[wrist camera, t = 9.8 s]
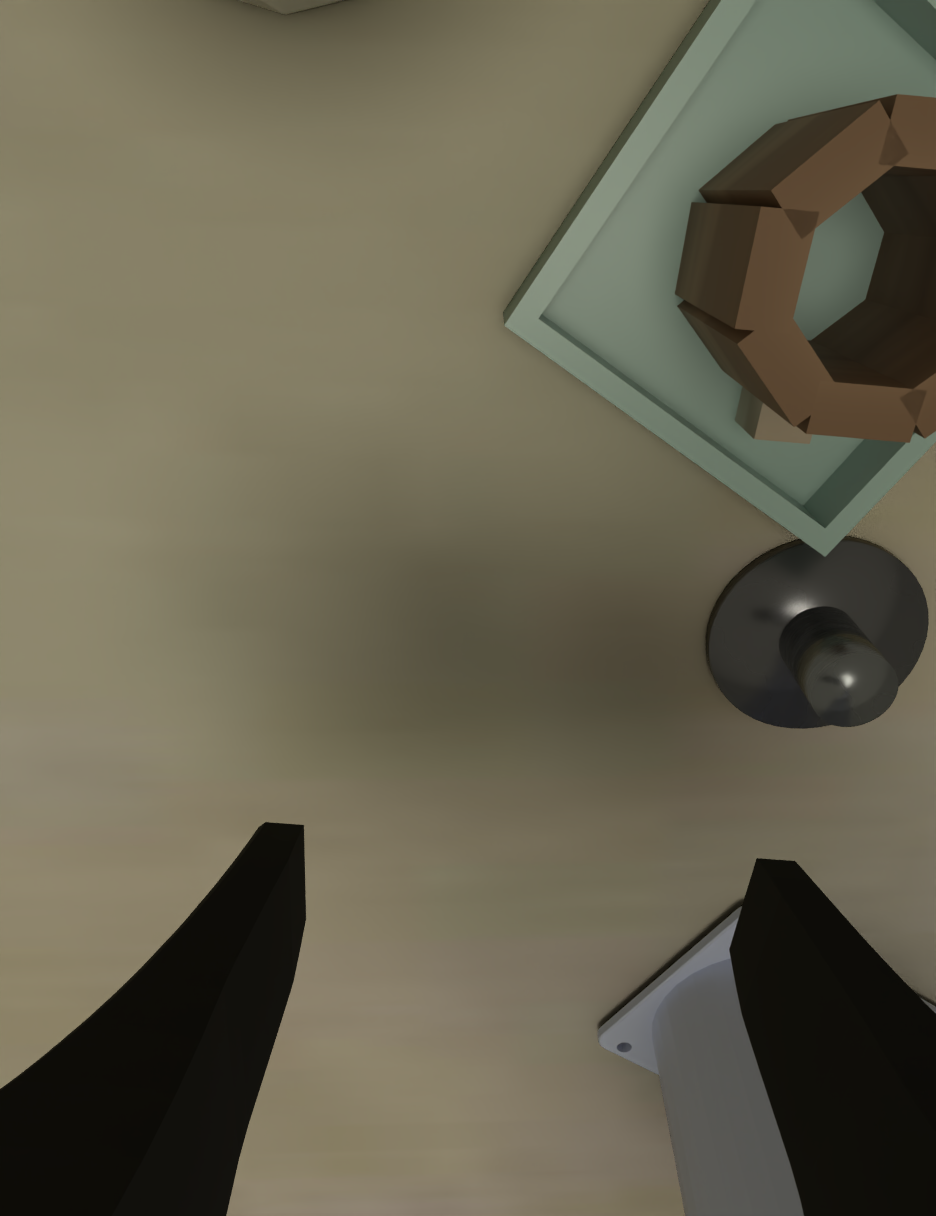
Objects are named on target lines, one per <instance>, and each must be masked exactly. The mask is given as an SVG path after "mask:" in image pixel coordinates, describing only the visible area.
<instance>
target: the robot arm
mask: <svg viewBox="0 0 936 1216" xmlns="http://www.w3.org/2000/svg"><path fill="white" fill-rule="evenodd" d="M305 921H306V900H305V857H304V825H296V824H282V823H269V822H265V823H264V824H262V825H261V826H260V827H258V829H257V830H256V832H255V833H254V835H253V836H252V838H251V839H250V840H249V842H248V843H247V844H246V846H245V847H244V849H243V850H242V851H241V853H240V854H239V855H238V857H237V858H236V859H235V861H234V862H233V863H232V864H231V866H230V867H229V868H228V870H227V871H226V872H225V873H224V875H223V876H222V877H221V878H220V880H219V881H218V882H217V883H216V885H215V886H214V887H213V888H212V890H211V891H210V892H209V893H208V894H207V895H206V897H205V898H204V899H203V900H202V901H201V903H200V904H199V905H198V906H197V907H196V908H195V910H194V911H193V912H192V913H191V914H190V916H189V917H188V918H187V919H186V920H185V921H184V922H183V924H182V925H181V926H180V927H179V928H178V929H177V930H176V931H175V932H174V934H173V935H172V936H171V937H170V938H169V939H168V940H167V941H166V942H165V943H164V944H163V945H162V946H161V947H160V948H159V949H158V951H157V952H156V953H155V954H154V955H153V956H152V957H151V958H150V959H149V960H148V961H147V962H146V963H145V964H144V965H143V966H142V967H141V968H140V969H139V970H138V971H137V972H136V973H135V974H134V975H133V976H132V977H131V978H130V979H129V980H128V981H127V982H126V983H125V984H124V985H123V986H122V987H121V988H120V989H119V990H118V991H117V992H116V993H115V994H114V995H113V996H112V997H111V998H110V999H108V1000H107V1001H106V1002H105V1003H104V1004H103V1005H102V1006H101V1007H100V1008H99V1009H98V1010H96V1011H95V1012H94V1013H93V1014H92V1015H91V1016H90V1017H89V1018H88V1019H86V1020H85V1021H84V1022H83V1023H82V1024H81V1025H80V1026H78V1027H77V1028H76V1029H75V1030H74V1031H72V1032H71V1033H70V1034H69V1035H68V1036H66V1037H65V1038H64V1039H63V1040H62V1041H61V1042H59V1043H58V1044H57V1045H56V1046H55V1047H53V1048H52V1049H51V1050H50V1051H49V1052H48V1053H46V1054H45V1055H44V1056H43V1057H41V1058H40V1059H39V1060H38V1061H36V1062H35V1063H34V1064H33V1065H31V1066H30V1067H29V1068H28V1069H26V1070H25V1071H24V1072H22V1073H21V1074H20V1075H19V1076H17V1077H16V1078H15V1079H13V1080H12V1081H11V1082H9V1083H8V1084H6V1085H5V1086H4V1087H2V1088H1V1089H0V1216H226V1214H227V1210H228V1205H229V1201H230V1196H231V1192H232V1187H233V1183H234V1179H235V1174H236V1170H237V1165H238V1161H239V1157H240V1153H241V1149H242V1146H243V1142H244V1139H245V1135H246V1131H247V1128H248V1124H249V1121H250V1118H251V1115H252V1112H253V1108H254V1105H255V1102H256V1099H257V1096H258V1093H259V1090H260V1086H261V1083H262V1080H263V1077H264V1074H265V1071H266V1068H267V1064H268V1061H269V1058H270V1055H271V1052H272V1049H273V1045H274V1042H275V1039H276V1036H277V1033H278V1030H279V1026H280V1023H281V1020H282V1017H283V1014H284V1011H285V1007H286V1004H287V1001H288V998H289V994H290V991H291V988H292V985H293V981H294V976H295V971H296V967H297V962H298V957H299V952H300V947H301V942H302V937H303V931H304V926H305ZM598 1042H599V1044H600V1046H602V1047H603V1048H605V1049H607V1050H609V1051H611V1052H613V1053H615V1054H617V1055H619V1056H621V1057H623V1058H625V1059H627V1060H629V1061H631V1062H633V1063H635V1064H637V1065H639V1066H641V1067H643V1068H645V1069H647V1070H649V1071H652V1072H654V1073H656V1074H658V1075H659V1078H660V1083H661V1088H662V1094H663V1099H664V1104H665V1110H666V1115H667V1120H668V1126H669V1131H670V1136H671V1142H672V1147H673V1152H674V1158H675V1163H676V1168H677V1174H678V1179H679V1184H680V1190H681V1195H682V1200H683V1206H684V1211H685V1216H936V1006H934V1005H932V1004H930V1003H929V1002H927V1001H925V1000H923V999H922V998H920V997H919V996H918V995H917V994H916V993H915V992H914V991H913V990H912V989H911V988H910V987H909V986H908V985H907V984H906V983H905V982H904V981H903V980H902V979H901V978H900V977H899V976H898V975H897V974H896V973H895V972H894V971H893V970H892V968H891V967H890V966H889V965H888V964H887V963H886V962H885V961H884V960H883V959H882V958H881V957H880V956H879V955H878V953H877V952H876V951H875V950H874V949H873V948H872V947H871V946H870V945H869V944H868V943H867V941H866V940H865V939H864V938H863V937H862V936H861V935H860V934H859V933H858V932H857V930H856V929H855V928H854V927H853V926H852V925H851V924H850V923H849V921H848V920H847V919H846V918H845V917H844V916H843V915H842V914H841V912H840V911H839V910H838V909H837V908H836V907H835V906H834V905H833V903H832V902H831V901H830V900H829V899H828V898H827V897H826V895H825V894H824V893H823V892H822V891H821V890H820V889H819V887H818V886H817V885H816V884H815V883H814V882H813V881H812V879H811V878H810V877H809V876H808V875H807V874H806V873H805V872H804V871H803V869H802V868H801V867H800V866H799V865H798V864H797V863H796V862H795V861H786V860H772V859H758V858H757V859H756V862H755V866H754V869H753V872H752V876H751V879H750V882H749V885H748V889H747V892H746V895H745V899H744V902H743V905H742V906H741V907H739V908H738V909H737V910H735V911H734V912H733V913H732V914H731V915H730V916H728V917H727V918H726V919H725V920H724V921H723V922H721V923H720V924H719V925H718V926H717V927H716V928H715V929H713V930H712V931H711V932H710V933H709V934H708V935H706V936H705V937H704V938H703V939H702V940H701V941H700V942H698V943H697V944H696V945H695V946H694V947H693V948H691V949H690V950H689V951H688V952H687V953H686V954H684V955H683V956H682V957H681V958H680V959H679V960H678V961H676V962H675V963H674V964H673V965H672V966H671V967H669V968H668V969H667V970H666V971H665V972H664V973H663V974H661V975H660V976H659V977H658V978H657V979H656V980H654V981H653V982H652V983H651V984H650V985H649V986H647V987H646V988H645V989H644V990H643V991H642V992H641V993H639V994H638V995H637V996H636V997H635V998H634V999H632V1000H631V1001H630V1002H629V1003H628V1004H627V1005H626V1006H624V1007H623V1008H622V1009H621V1010H620V1011H619V1012H617V1013H616V1014H615V1015H614V1016H613V1017H612V1018H610V1019H609V1020H608V1021H607V1022H606V1023H605V1024H604V1025H602V1026H601V1027H600V1028H599V1030H598Z"/></svg>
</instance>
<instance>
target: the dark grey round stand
mask: <svg viewBox="0 0 936 1216" xmlns="http://www.w3.org/2000/svg"><path fill="white" fill-rule="evenodd" d="M927 631H928V608H927V602H926V598H925V595H924V593H923V590H922V588H921V586H920V584H919V582H918V581H917V579H916V577H915V576H914V575H913V574H912V572H911V571H910V570H909V569H908V568H907V567H906V566H905V565H904V564H903V563H902V562H901V561H900V560H898V559H897V558H896V557H895V556H894V555H893V554H891V553H890V552H888V551H887V550H885V549H884V548H882V547H880V546H878V545H876V544H873V543H871V542H869V541H865V540H862V539H858V538H854V537H847V536H845V537H844V538H843V539H842V540H841V541H840V542H839V543H838V544H837V545H836V546H835V547H834V548H833V549H832V550H831V551H830V552H829V553H828V554H827V556H826V557H825V556H823V555H822V554H821V553H819V552H818V551H816V550H815V549H814V548H812V547H811V546H809V545H808V544H807V543H805V542H804V541H802V540H801V539H800V540H796V541H793V542H790V543H787V544H784V545H781V546H779V547H777V548H775V549H773V550H771V551H769V552H767V553H765V554H764V555H762V556H760V557H759V558H757V559H755V560H754V561H753V562H751V563H750V564H749V565H748V566H746V567H745V568H744V569H743V570H742V571H741V572H740V573H739V574H737V575H736V576H735V577H734V578H733V580H732V581H731V582H730V583H729V584H728V586H727V587H726V588H725V589H724V591H723V592H722V594H721V596H720V597H719V599H718V600H717V602H716V605H715V607H714V609H713V611H712V613H711V617H710V620H709V623H708V628H707V634H706V652H707V659H708V663H709V666H710V669H711V672H712V674H713V676H714V678H715V680H716V682H717V684H718V686H719V688H720V690H721V691H722V692H723V694H724V695H725V697H726V698H727V699H728V700H729V701H730V702H731V703H732V704H733V705H734V706H735V707H736V708H738V709H739V710H740V711H742V712H743V713H745V714H746V715H748V716H750V717H752V718H754V719H756V720H759V721H761V722H764V723H766V724H770V725H774V726H778V727H786V728H815V727H822V726H827V725H836V726H841V727H852V726H858V725H862V724H865V723H868V722H870V721H872V720H874V719H876V718H877V717H879V716H880V715H882V714H883V713H884V712H885V711H886V710H887V709H888V708H889V707H890V706H891V704H892V703H893V701H894V699H895V697H896V695H897V691H898V687H899V686H900V685H901V683H902V682H903V681H904V680H905V679H906V677H907V676H908V675H909V674H910V672H911V671H912V669H913V668H914V666H915V664H916V663H917V661H918V659H919V657H920V654H921V652H922V650H923V647H924V644H925V640H926V637H927Z"/></svg>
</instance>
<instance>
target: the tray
mask: <svg viewBox="0 0 936 1216" xmlns="http://www.w3.org/2000/svg"><path fill="white" fill-rule="evenodd" d="M895 94H902V95H913V96H924V97H934V98H936V0H710V1H709V2H708V4H707V5H706V7H705V8H704V10H703V11H702V13H701V15H700V16H699V18H698V19H697V21H696V22H695V24H694V25H693V27H692V28H691V30H690V31H689V33H688V34H687V36H686V37H685V39H684V40H683V42H682V43H681V45H680V46H679V48H678V49H677V51H676V52H675V54H674V55H673V57H672V58H671V60H670V61H669V63H668V64H667V66H666V67H665V69H664V70H663V72H662V73H661V75H660V76H659V78H658V79H657V81H656V82H655V84H654V85H653V87H652V88H651V90H650V91H649V93H648V95H647V96H646V98H645V99H644V101H643V102H642V104H641V105H640V107H639V108H638V110H637V111H636V113H635V114H634V116H633V117H632V119H631V120H630V122H629V123H628V125H627V126H626V128H625V129H624V131H623V132H622V134H621V135H620V137H619V138H618V140H617V141H616V143H615V144H614V146H613V147H612V149H611V150H610V152H609V153H608V155H607V156H606V158H605V159H604V161H603V162H602V164H601V165H600V167H599V168H598V170H597V172H596V173H595V175H594V176H593V178H592V179H591V181H590V182H589V184H588V185H587V187H586V188H585V190H584V191H583V193H582V194H581V196H580V197H579V199H578V200H577V202H576V203H575V205H574V206H573V208H572V209H571V211H570V212H569V214H568V215H567V217H566V218H565V220H564V221H563V223H562V224H561V226H560V227H559V229H558V230H557V232H556V233H555V235H554V236H553V238H552V239H551V241H550V242H549V244H548V245H547V247H546V248H545V250H544V252H543V253H542V255H541V256H540V258H539V259H538V261H537V262H536V264H535V265H534V267H533V268H532V270H531V271H530V273H529V274H528V276H527V277H526V279H525V280H524V282H523V283H522V285H521V286H520V288H519V289H518V291H517V292H516V294H515V295H514V297H513V298H512V300H511V301H510V303H509V304H508V306H507V307H506V309H505V310H504V312H503V317H504V326H506V327H507V328H508V329H510V330H511V331H512V332H514V333H515V334H517V335H518V336H519V337H521V338H522V339H524V340H525V341H526V342H528V343H529V344H531V345H532V346H533V347H535V348H536V349H537V350H539V351H540V352H542V353H543V354H544V355H546V356H547V357H549V358H550V359H551V360H553V361H554V362H556V363H557V364H558V365H560V366H561V367H562V368H564V369H565V370H567V371H568V372H569V373H571V374H572V375H574V376H575V377H576V378H578V379H579V380H580V381H582V382H583V383H585V384H586V385H587V386H589V387H590V388H592V389H593V390H594V391H596V392H597V393H599V394H600V395H601V396H603V397H604V398H605V399H607V400H608V401H610V402H611V403H612V404H614V405H615V406H617V407H618V408H619V409H621V410H622V411H623V412H625V413H626V414H628V415H629V416H630V417H632V418H633V419H635V420H636V421H637V422H639V423H640V424H642V425H643V426H644V427H646V428H647V429H648V430H650V431H651V432H653V433H654V434H655V435H657V436H658V437H660V438H661V439H662V440H664V441H665V442H667V443H668V444H669V445H671V446H672V447H673V448H675V449H676V450H678V451H679V452H680V453H682V454H683V455H685V456H686V457H687V458H689V459H690V460H691V461H693V462H694V463H696V464H697V465H698V466H700V467H701V468H703V469H704V470H705V471H707V472H708V473H710V474H711V475H712V476H714V477H715V478H716V479H718V480H719V481H721V482H722V483H723V484H725V485H726V486H728V487H729V488H730V489H732V490H733V491H734V492H736V493H737V494H739V495H740V496H741V497H743V498H744V499H746V500H747V501H748V502H750V503H751V504H753V505H754V506H755V507H757V508H758V509H759V510H761V511H762V512H764V513H765V514H766V515H768V516H769V517H771V518H772V519H773V520H775V521H776V522H778V523H779V524H780V525H782V526H783V527H784V528H786V529H787V530H789V531H790V532H791V533H793V534H794V535H796V536H797V537H798V538H800V539H801V540H802V541H804V542H805V543H807V544H808V545H809V546H811V547H812V548H814V549H815V550H816V551H818V552H819V553H821V554H822V555H823V556H825V557H826V556H827V554H828V553H829V552H830V551H831V550H832V549H833V548H834V547H835V546H836V545H837V544H838V543H839V542H840V541H841V540H842V539H843V538H844V537H845V536H846V535H847V534H848V533H849V532H850V531H851V529H852V528H853V527H854V526H855V525H856V524H857V523H858V522H859V521H860V520H861V519H862V518H863V517H864V516H865V515H866V514H867V513H868V512H869V511H870V510H871V509H872V508H873V507H874V506H875V504H876V503H877V502H878V501H879V500H880V499H881V498H882V497H883V496H884V495H885V494H886V493H887V492H888V491H889V490H890V489H891V488H892V487H893V486H894V485H895V484H896V483H897V482H898V481H899V479H900V478H901V477H902V476H903V475H904V474H905V473H906V472H907V471H908V470H909V469H910V468H911V467H912V466H913V465H914V464H915V463H916V462H917V461H918V460H919V459H920V458H921V457H922V456H923V455H924V453H925V452H926V451H927V450H928V449H929V448H930V447H931V446H932V445H933V444H934V443H935V442H936V431H935V432H934V433H933V434H931V435H930V436H928V437H927V438H923V437H921V436H919V435H918V434H916V433H914V432H913V435H912V438H911V441H910V443H905V442H893V441H882V440H870V439H859V438H847V437H836V436H824V435H813V434H812V438H811V441H810V444H803V443H791V442H780V441H768V440H757V439H753V438H752V437H751V436H750V435H749V434H748V433H747V432H746V431H745V430H744V429H743V428H742V427H741V426H740V425H739V424H738V423H737V422H736V421H735V417H736V413H737V408H738V404H739V400H740V395H741V391H742V386H741V385H740V384H739V383H738V382H736V381H735V380H734V379H732V378H731V377H730V376H729V375H727V374H726V373H725V372H724V371H722V369H721V368H720V367H719V365H718V364H717V362H716V361H715V359H714V358H713V357H712V355H711V354H710V352H709V351H708V349H707V348H706V347H705V345H704V344H703V342H702V341H701V339H700V338H699V337H698V335H697V334H696V332H695V331H694V329H693V328H692V327H691V325H690V324H689V322H688V321H687V319H686V318H685V317H684V315H683V314H682V312H681V311H680V309H679V308H678V307H677V305H679V304H680V303H681V302H682V301H684V299H682V298H680V297H679V296H677V295H675V290H676V284H677V279H678V273H679V268H680V262H681V257H682V251H683V246H684V240H685V235H686V229H687V224H688V218H689V213H690V207H691V202H699V203H707V202H706V201H705V199H704V198H703V196H702V195H701V193H700V192H699V189H700V188H701V187H702V186H704V185H705V184H706V183H707V182H708V181H709V180H711V179H712V178H713V177H714V176H715V175H716V174H718V173H719V172H720V171H721V170H722V169H723V168H725V167H726V166H727V165H728V164H729V163H730V162H732V161H733V160H734V159H735V158H736V157H737V156H739V155H740V154H741V153H742V152H743V151H744V150H746V149H747V148H748V147H749V146H750V145H751V144H753V143H754V142H755V141H756V140H757V139H758V138H760V137H761V136H762V135H763V134H764V133H765V132H767V131H768V130H769V129H770V128H771V127H772V126H774V125H775V124H779V123H783V122H787V121H788V120H789V119H793V118H798V117H802V116H806V115H810V114H815V113H819V112H823V111H827V110H832V109H836V108H840V107H844V106H849V105H853V104H857V103H861V102H866V101H870V100H874V99H878V98H883V97H887V96H891V95H895ZM883 235H884V231H883V229H882V228H881V226H880V224H879V222H878V221H877V219H876V217H875V216H874V214H873V212H872V210H871V209H870V207H869V205H868V203H867V202H866V200H865V198H864V197H863V195H862V193H859V194H858V195H857V196H856V197H854V198H853V199H852V200H851V201H849V202H848V203H847V204H846V205H844V206H843V207H842V208H840V209H839V210H838V211H837V212H835V213H834V214H833V215H832V216H830V217H829V218H828V219H827V220H825V221H824V222H823V223H822V224H820V225H819V226H818V227H817V228H815V232H814V236H813V240H812V244H811V248H810V252H809V256H808V260H807V264H806V268H805V272H804V276H803V280H802V284H801V289H800V293H799V297H798V301H797V305H796V309H795V313H794V317H793V319H794V321H795V322H796V324H797V325H798V327H799V328H800V330H801V331H802V333H803V335H804V336H805V338H806V339H807V340H812V339H813V338H815V337H816V336H817V335H819V334H820V333H821V332H823V331H824V330H825V329H827V328H828V327H829V326H831V325H832V324H833V323H835V322H836V321H837V320H839V319H840V318H841V317H843V316H844V315H845V314H847V313H848V312H849V311H851V310H852V309H853V308H855V307H856V306H857V305H859V304H860V303H861V302H863V301H864V300H865V299H866V295H867V292H868V288H869V285H870V281H871V277H872V274H873V270H874V267H875V263H876V260H877V256H878V252H879V249H880V245H881V242H882V238H883Z"/></svg>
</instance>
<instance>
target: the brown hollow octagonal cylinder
mask: <svg viewBox="0 0 936 1216" xmlns="http://www.w3.org/2000/svg"><path fill="white" fill-rule="evenodd" d="M699 192H700V193H701V195H702V196H703V198H704V199H705V201H706V202H707V203H699V202H691V207H690V213H689V218H688V224H687V229H686V235H685V240H684V246H683V251H682V257H681V262H680V268H679V273H678V279H677V284H676V290H675V295H677V296H679V297H680V298H682V299H684V301H682V302H681V303H680V304H679V305H677V307H678V308H679V309H680V311H681V312H682V314H683V315H684V317H685V318H686V319H687V321H688V322H689V324H690V325H691V327H692V328H693V329H694V331H695V332H696V334H697V335H698V337H699V338H700V339H701V341H702V342H703V344H704V345H705V347H706V348H707V349H708V351H709V352H710V354H711V355H712V357H713V358H714V359H715V361H716V362H717V364H718V365H719V367H720V368H721V369H722V371H724V372H725V373H726V374H727V375H729V376H730V377H731V378H732V379H734V380H735V381H736V382H738V383H739V384H740V385H741V386H742V391H741V395H740V400H739V404H738V408H737V413H736V417H735V421H736V422H737V423H738V424H739V425H740V426H741V427H742V428H743V429H744V430H745V431H746V432H747V433H748V434H749V435H750V436H751V437H752V438H753V439H757V440H768V441H780V442H791V443H803V444H810V441H811V438H812V434H813V435H824V436H836V437H847V438H859V439H870V440H882V441H893V442H905V443H910V441H911V438H912V435H913V432H914V433H916V434H918V435H919V436H921V437H923V438H927V437H928V436H930V435H931V434H933V433H934V432H935V431H936V98H934V97H924V96H913V95H902V94H895V95H891V96H887V97H883V98H878V99H874V100H870V101H866V102H861V103H857V104H853V105H849V106H844V107H840V108H836V109H832V110H827V111H823V112H819V113H815V114H810V115H806V116H802V117H798V118H793V119H789V120H788V121H787V122H783V123H779V124H775V125H774V126H772V127H771V128H770V129H769V130H768V131H767V132H765V133H764V134H763V135H762V136H761V137H760V138H758V139H757V140H756V141H755V142H754V143H753V144H751V145H750V146H749V147H748V148H747V149H746V150H744V151H743V152H742V153H741V154H740V155H739V156H737V157H736V158H735V159H734V160H733V161H732V162H730V163H729V164H728V165H727V166H726V167H725V168H723V169H722V170H721V171H720V172H719V173H718V174H716V175H715V176H714V177H713V178H712V179H711V180H709V181H708V182H707V183H706V184H705V185H704V186H702V187H701V188H700V189H699ZM859 193H862V195H863V197H864V198H865V200H866V202H867V203H868V205H869V207H870V209H871V210H872V212H873V214H874V216H875V217H876V219H877V221H878V222H879V224H880V226H881V228H882V229H883V231H884V235H883V238H882V242H881V245H880V249H879V252H878V256H877V260H876V263H875V267H874V270H873V274H872V277H871V281H870V285H869V288H868V292H867V295H866V299H865V300H864V301H863V302H861V303H860V304H859V305H857V306H856V307H855V308H853V309H852V310H851V311H849V312H848V313H847V314H845V315H844V316H843V317H841V318H840V319H839V320H837V321H836V322H835V323H833V324H832V325H831V326H829V327H828V328H827V329H825V330H824V331H823V332H821V333H820V334H819V335H817V336H816V337H815V338H813V339H812V340H807V339H806V338H805V336H804V335H803V333H802V331H801V330H800V328H799V327H798V325H797V324H796V322H795V321H794V319H793V317H794V313H795V309H796V305H797V301H798V297H799V293H800V289H801V284H802V280H803V276H804V272H805V268H806V264H807V260H808V256H809V252H810V248H811V244H812V240H813V236H814V232H815V228H817V227H818V226H819V225H820V224H822V223H823V222H824V221H825V220H827V219H828V218H829V217H830V216H832V215H833V214H834V213H835V212H837V211H838V210H839V209H840V208H842V207H843V206H844V205H846V204H847V203H848V202H849V201H851V200H852V199H853V198H854V197H856V196H857V195H858V194H859Z"/></svg>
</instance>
